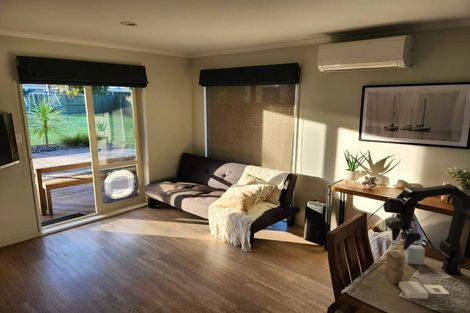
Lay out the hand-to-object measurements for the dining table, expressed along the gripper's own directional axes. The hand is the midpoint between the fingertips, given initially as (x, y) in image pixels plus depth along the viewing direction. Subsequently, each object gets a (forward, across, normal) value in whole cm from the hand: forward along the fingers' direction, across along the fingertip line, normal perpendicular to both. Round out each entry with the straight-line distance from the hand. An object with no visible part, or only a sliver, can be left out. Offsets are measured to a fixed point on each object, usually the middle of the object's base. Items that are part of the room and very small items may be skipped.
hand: (398, 245), depth 143 cm
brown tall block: (+15, +7, -3) cm, 16 cm away
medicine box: (+13, -9, +15) cm, 22 cm away
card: (+13, +14, +11) cm, 22 cm away
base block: (+14, +16, 0) cm, 21 cm away
